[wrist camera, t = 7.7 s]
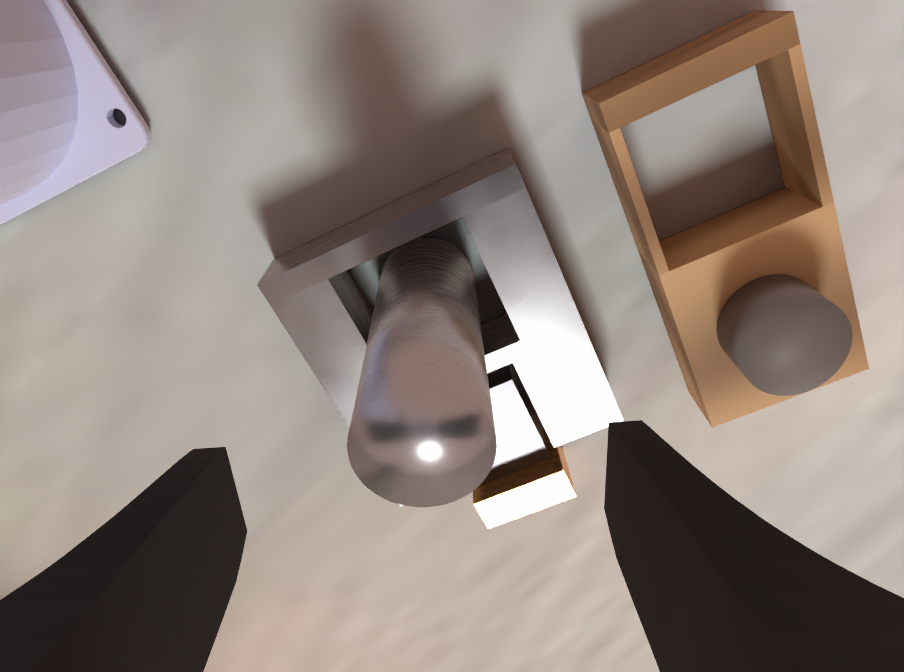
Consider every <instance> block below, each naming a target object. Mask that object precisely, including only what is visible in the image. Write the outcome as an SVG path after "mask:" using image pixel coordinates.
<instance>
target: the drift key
mask: <svg viewBox="0 0 904 672" xmlns="http://www.w3.org/2000/svg"><path fill="white" fill-rule="evenodd" d="M487 376H488V383H489V390H490V397H491V404H492V412H493V419H494V426H495V433H496V442H497V450H496V457H495V461H494V464H493V466H492V469H491V470H490V472H489V474H488V476H487V477H486V478H485V479H484V481H483V482H482V483H481V484H480V485H479V486H478V487H477V488H476V489H475V490H473V501H474V506H475V507H476V509H477V511H478V512H479V514H480V516H481V518H482V519H483V521H484V523H485V524H486V526H487V528H488V529H490V528H492V527H495V526H498V525H501V524H503V523H506V522H509V521H511V520H514V519H517V518H519V517H522V516H525V515H528V514H530V513H533V512H536V511H538V510H541V509H544V508H546V507H549V506H552V505H555V504H557V503H560V502H563V501H565V500H568V499H571V498H573V497H576V494H575V490H574V487H573V483H572V480H571V476H570V473H569V469H568V466H567V462H566V459H565V455H564V452H563V449H562V447H561V445H560V446H557V447H555V448H554V446H553V444H552V442H551V440H550V438H549V436H548V434H547V432H546V430H545V428H543V427H542V424H541V422H540V420H539V418H538V416H537V414H536V412H535V410H534V408H533V406H532V404H531V402H530V400H529V398H528V396H527V394H526V392H525V390H524V388H523V386H522V384H521V381H520V379H519V377H518V375H517V373H516V371H515V369H514V367H513V365H512V363H511V364H509V365H506V366H504V367H501V368H499V369H496V370H494V371H492V372H489V373H487Z"/></svg>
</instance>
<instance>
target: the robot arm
mask: <svg viewBox="0 0 904 672" xmlns="http://www.w3.org/2000/svg"><path fill="white" fill-rule="evenodd" d="M115 108H117V109H120V110H121V111H122V112H123V113H124V114H125V116H126V119H127V120H126V124H125V125H124V126H123V125H120V124H118V123H117V122H116V121H115V119H114V117H113V110H114V109H115ZM150 140H151V132H150V130H149V127H148V125H147V124H146V122H145V120H144V119H143V117H142V116H141V114H140V113H139V111H138V110H137V108H136V107H135V105H134V104H133V102H132V101H131V99H130V97H129V96H128V94H127V93H126V91H125V90H124V88H123V87H122V85H121V84H120V82H119V81H118V79H117V78H116V76H115V74H114V73H113V71H112V70H111V68H110V67H109V65H108V64H107V62H106V61H105V59H104V58H103V56H102V54H101V53H100V51H99V50H98V48H97V47H96V45H95V44H94V42H93V41H92V39H91V38H90V36H89V35H88V33H87V31H86V30H85V28H84V27H83V25H82V24H81V22H80V21H79V19H78V18H77V16H76V15H75V13H74V12H73V10H72V8H71V7H70V5H69V4H68V2H67V1H66V0H0V225H1V224H3V223H5V222H6V221H8V220H10V219H12V218H14V217H16V216H18V215H20V214H22V213H24V212H25V211H27V210H29V209H31V208H33V207H35V206H37V205H39V204H41V203H42V202H44V201H46V200H48V199H50V198H52V197H54V196H56V195H58V194H60V193H61V192H63V191H65V190H67V189H69V188H71V187H73V186H75V185H77V184H79V183H80V182H82V181H84V180H86V179H88V178H90V177H92V176H94V175H96V174H98V173H99V172H101V171H103V170H105V169H107V168H109V167H111V166H113V165H115V164H116V163H118V162H120V161H122V160H124V159H126V158H128V157H130V156H132V155H134V154H135V153H137V152H139V151H141V150H143V149H144V148H146V147H147V146H148V145H149V142H150ZM604 509H605V513H606V517H607V522H608V526H609V530H610V534H611V538H612V542H613V546H614V550H615V554H616V557H617V560H618V563H619V566H620V568H621V571H622V574H623V576H624V579H625V582H626V584H627V587H628V589H629V592H630V595H631V597H632V600H633V602H634V605H635V608H636V610H637V613H638V615H639V618H640V621H641V623H642V626H643V628H644V631H645V634H646V636H647V639H648V641H649V644H650V646H651V649H652V652H653V654H654V657H655V659H656V662H657V665H658V667H659V670H660V672H904V598H902V597H900V596H898V595H896V594H894V593H892V592H890V591H888V590H885V589H883V588H881V587H879V586H877V585H875V584H873V583H871V582H869V581H867V580H866V579H864V578H862V577H860V576H858V575H856V574H854V573H852V572H850V571H848V570H846V569H845V568H843V567H841V566H839V565H837V564H835V563H833V562H832V561H830V560H828V559H826V558H824V557H823V556H821V555H819V554H817V553H816V552H814V551H812V550H811V549H809V548H807V547H806V546H804V545H803V544H801V543H799V542H798V541H796V540H794V539H793V538H791V537H790V536H788V535H786V534H785V533H783V532H782V531H780V530H778V529H777V528H775V527H774V526H772V525H771V524H769V523H768V522H766V521H765V520H763V519H762V518H761V517H759V516H758V515H756V514H755V513H754V512H752V511H751V510H749V509H748V508H747V507H745V506H744V505H743V504H741V503H740V502H738V501H737V500H736V499H734V498H733V497H732V496H730V495H729V494H728V493H726V492H725V491H724V490H723V489H721V488H720V487H719V486H717V485H716V484H715V483H714V482H712V481H711V480H710V479H709V478H707V477H706V476H705V475H704V474H703V473H701V472H700V471H699V470H698V469H697V468H695V467H694V466H693V465H692V464H691V463H689V462H688V461H687V460H686V459H685V458H684V457H683V456H681V455H680V454H679V453H678V452H677V451H676V450H674V449H673V448H672V447H671V446H670V445H669V444H668V443H667V442H665V441H664V440H663V439H662V438H661V437H660V436H659V435H658V434H656V433H655V432H654V431H653V430H652V429H651V428H650V427H649V426H647V425H646V424H645V423H644V422H643V421H642V420H641V421H626V422H610V423H609V429H608V448H607V467H606V486H605V505H604ZM246 534H247V528H246V525H245V521H244V517H243V513H242V509H241V505H240V501H239V497H238V494H237V490H236V486H235V482H234V478H233V474H232V470H231V466H230V463H229V459H228V455H227V451H226V447H219V448H203V449H193V450H192V451H190V452H189V453H188V454H186V455H185V456H184V457H183V458H181V459H180V460H179V461H178V462H177V463H175V464H174V465H173V466H172V467H171V468H170V469H168V470H167V471H166V472H165V473H164V474H163V475H161V476H160V477H159V478H158V479H157V480H156V481H155V482H153V483H152V484H151V485H150V486H149V487H148V488H147V489H145V490H144V491H143V492H142V493H141V494H140V495H138V496H137V497H136V498H135V499H134V500H133V501H131V502H130V503H129V504H128V505H127V506H125V507H124V508H123V509H122V510H121V511H120V512H118V513H117V514H116V515H115V516H114V517H113V518H111V519H110V520H109V521H108V522H106V523H105V524H104V525H103V526H101V527H100V528H99V529H97V530H96V531H95V532H94V533H92V534H91V535H90V536H89V537H87V538H86V539H85V540H84V541H82V542H81V543H80V544H78V545H77V546H76V547H75V548H73V549H72V550H71V551H70V552H68V553H67V554H66V555H64V556H63V557H62V558H60V559H59V560H58V561H56V562H55V563H54V564H52V565H51V566H50V567H48V568H47V569H45V570H44V571H42V572H41V573H40V574H38V575H37V576H35V577H34V578H32V579H31V580H29V581H28V582H26V583H25V584H24V585H22V586H21V587H19V588H18V589H16V590H15V591H13V592H12V593H10V594H9V595H7V596H6V597H4V598H3V599H1V600H0V672H203V671H204V668H205V666H206V663H207V660H208V657H209V655H210V652H211V649H212V647H213V644H214V641H215V638H216V636H217V633H218V630H219V628H220V625H221V622H222V619H223V617H224V614H225V611H226V608H227V605H228V603H229V600H230V597H231V594H232V591H233V589H234V586H235V583H236V580H237V575H238V571H239V567H240V563H241V558H242V553H243V549H244V544H245V539H246Z"/></svg>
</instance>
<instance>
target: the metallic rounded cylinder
mask: <svg viewBox="0 0 904 672" xmlns="http://www.w3.org/2000/svg"><path fill="white" fill-rule="evenodd" d="M347 449H348V456H349V460H350V463H351V466H352V468H353V470H354V472H355V473H356V475H357V476H358V478H359V479H360V480H361V482H362V483H363V484H364V485H365V486H366V487H367V488H369V489H370V490H371V491H373V492H374V493H375V494H377V495H379V496H380V497H382V498H384V499H387V500H389V501H391V502H394V503H397V504H401V505H406V506H413V507H432V506H439V505H444V504H447V503H450V502H454V501H456V500H458V499H460V498H462V497H464V496H466V495H467V494H469V493H471V492H472V491H473V490H475V489H476V488H477V487H478V486H479V485H480V484H481V483H482V482H483V481H484V479H485V478H486V477H487V476H488V474H489V472H490V470H491V469H492V466H493V464H494V461H495V457H496V450H497V442H496V433H495V426H494V419H493V412H492V404H491V397H490V390H489V383H488V376H487V369H486V361H485V354H484V347H483V340H482V333H481V326H480V318H479V311H478V304H477V297H476V290H475V283H474V275H473V271H472V268H471V265H470V263H469V261H468V259H467V258H466V256H465V255H464V254H463V253H462V252H461V251H460V250H459V249H458V248H457V247H455V246H454V245H452V244H450V243H449V242H446V241H444V240H441V239H437V238H417V239H413V240H411V241H409V242H407V243H405V244H402V245H400V246H399V247H397V248H396V249H395V250H394V251H393V252H392V253H391V254H390V255H389V257H388V258H387V260H386V261H385V264H384V266H383V269H382V273H381V277H380V282H379V287H378V292H377V297H376V302H375V307H374V312H373V316H372V321H371V326H370V331H369V336H368V341H367V346H366V351H365V356H364V361H363V365H362V370H361V375H360V380H359V385H358V390H357V395H356V400H355V405H354V410H353V414H352V419H351V424H350V429H349V434H348V442H347Z"/></svg>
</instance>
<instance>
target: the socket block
mask: <svg viewBox="0 0 904 672" xmlns="http://www.w3.org/2000/svg"><path fill="white" fill-rule="evenodd" d="M461 217H462V218H463V221H464V223H465V225H466V227H467V229H468V231H469V233H470V235H471V237H472V240H473V242H474V244H475V246H476V248H477V250H478V252H479V254H480V256H481V259H482V261H483V263H484V265H485V267H486V269H487V271H488V273H489V275H490V278H491V280H492V282H493V284H494V286H495V288H496V290H497V292H498V294H499V297H500V299H501V301H502V303H503V305H504V307H505V309H506V311H507V313H506V314H503V315H501V316H499V317H496V318H494V319H492V320H489V321H487V322H485V323H482V324H480V326H481V333H482V340H483V347H484V354H485V361H486V369H487V373H489V372H492V371H494V370H496V369H499V368H501V367H504V366H506V365H509V364H511V363H513V364H514V366H515V369H516V371H517V373H518V375H519V377H520V379H521V381H522V383H523V385H524V387H525V389H526V391H527V393H528V395H529V397H530V399H531V401H532V403H533V405H534V408H535V410H536V412H537V414H538V416H539V418H540V420H541V422H542V424H543V426H544V428H545V430H546V432H547V434H548V436H549V438H550V440H551V442H552V444H553V446H554V448H555V447H557V446H560V445H562V444H565V443H568V442H570V441H573V440H575V439H578V438H580V437H583V436H586V435H588V434H591V433H593V432H596V431H599V430H601V429H604V428H606V427H609V423H610V422H622V421H624V420H623V417H622V415H621V412H620V410H619V408H618V405H617V403H616V401H615V398H614V396H613V393H612V391H611V389H610V386H609V384H608V382H607V379H606V377H605V374H604V372H603V370H602V367H601V365H600V362H599V360H598V358H597V355H596V353H595V351H594V348H593V346H592V343H591V341H590V339H589V336H588V334H587V332H586V329H585V327H584V324H583V322H582V320H581V317H580V315H579V312H578V310H577V308H576V305H575V303H574V301H573V298H572V296H571V293H570V291H569V289H568V286H567V284H566V282H565V279H564V277H563V274H562V272H561V270H560V267H559V265H558V262H557V260H556V258H555V255H554V253H553V251H552V248H551V246H550V243H549V241H548V239H547V236H546V234H545V232H544V229H543V227H542V224H541V222H540V220H539V217H538V215H537V212H536V210H535V208H534V205H533V203H532V201H531V198H530V196H529V193H528V191H527V189H526V186H525V184H524V182H523V179H522V177H521V174H520V172H519V170H518V167H517V165H516V163H515V161H514V159H513V157H512V155H511V153H510V151H509V149H508V148H507V149H505V150H502V151H500V152H498V153H496V154H494V155H492V156H490V157H488V158H486V159H483V160H481V161H479V162H477V163H475V164H473V165H471V166H469V167H467V168H464V169H462V170H460V171H458V172H456V173H454V174H452V175H450V176H448V177H445V178H443V179H441V180H439V181H437V182H435V183H433V184H431V185H429V186H427V187H424V188H422V189H420V190H418V191H416V192H414V193H412V194H410V195H408V196H405V197H403V198H401V199H399V200H397V201H395V202H393V203H391V204H389V205H386V206H384V207H382V208H380V209H378V210H376V211H374V212H372V213H370V214H367V215H365V216H363V217H361V218H359V219H357V220H355V221H353V222H351V223H348V224H346V225H344V226H342V227H340V228H338V229H336V230H334V231H332V232H330V233H327V234H325V235H323V236H321V237H319V238H317V239H315V240H313V241H311V242H308V243H306V244H304V245H302V246H300V247H298V248H296V249H294V250H292V251H289V252H287V253H285V254H283V255H281V256H279V257H277V258H275V259H274V260H273V261H272V263H271V264H270V266H269V267H268V269H267V271H266V272H265V274H264V275H263V277H262V278H261V280H260V282H259V283H258V287H259V289H260V290H261V292H262V293H263V295H264V296H265V298H266V299H267V301H268V302H269V304H270V306H271V307H272V309H273V310H274V312H275V313H276V315H277V316H278V318H279V319H280V321H281V323H282V324H283V326H284V327H285V329H286V330H287V332H288V333H289V335H290V336H291V338H292V340H293V341H294V343H295V344H296V346H297V347H298V349H299V350H300V352H301V353H302V355H303V357H304V358H305V360H306V361H307V363H308V364H309V366H310V367H311V369H312V370H313V372H314V374H315V375H316V377H317V378H318V380H319V381H320V383H321V384H322V386H323V387H324V389H325V391H326V392H327V394H328V395H329V397H330V398H331V400H332V401H333V403H334V404H335V406H336V407H337V409H338V411H339V412H340V414H341V415H342V417H343V418H344V420H345V421H346V423H347V424H348V426H349V428H350V424H351V419H352V414H353V410H354V405H355V400H356V395H357V390H358V385H359V380H360V375H361V370H362V365H363V361H364V356H365V351H366V346H367V341H368V336H369V331H370V326H371V321H372V316H373V313H372V312H371V310H370V308H369V306H368V305H367V303H366V301H365V299H364V298H363V296H362V294H361V292H360V291H359V289H358V287H357V286H356V284H355V282H354V280H353V279H352V277H351V275H350V273H349V272H348V269H350V268H353V267H355V266H357V265H359V264H361V263H363V262H366V261H368V260H370V259H372V258H374V257H376V256H379V255H381V254H383V253H385V252H387V251H389V250H392V249H394V248H396V247H398V246H400V245H402V244H405V243H407V242H409V241H411V240H413V239H415V238H418V237H420V236H422V235H424V234H426V233H428V232H431V231H433V230H435V229H437V228H439V227H441V226H444V225H446V224H448V223H450V222H452V221H455V220H457V219H459V218H461ZM399 505H400V506H401V507H402V506H404V505H401V504H399Z"/></svg>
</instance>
